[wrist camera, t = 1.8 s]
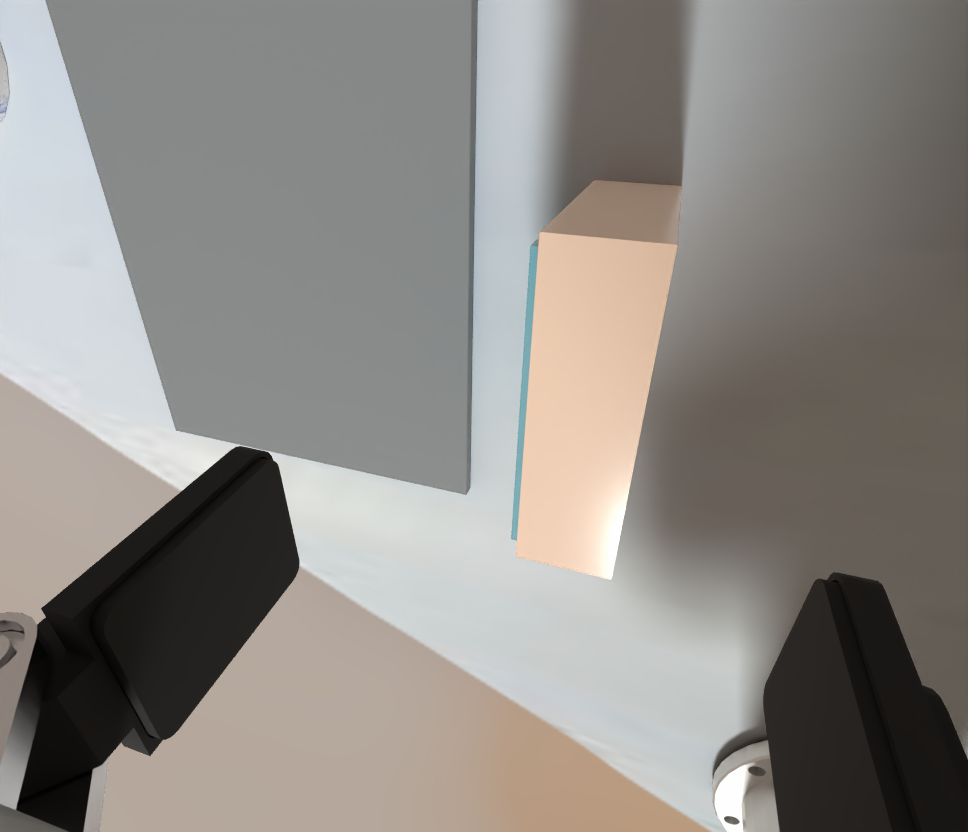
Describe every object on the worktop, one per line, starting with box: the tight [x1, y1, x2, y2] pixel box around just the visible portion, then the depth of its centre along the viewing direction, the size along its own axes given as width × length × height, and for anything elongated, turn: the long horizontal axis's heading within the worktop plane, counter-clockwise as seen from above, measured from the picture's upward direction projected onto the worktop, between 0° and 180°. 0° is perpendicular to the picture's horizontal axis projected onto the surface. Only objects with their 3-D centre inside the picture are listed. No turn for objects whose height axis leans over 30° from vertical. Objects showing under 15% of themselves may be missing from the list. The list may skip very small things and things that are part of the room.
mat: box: [46, 0, 477, 495], centre depth 25 cm, size 22×18×1 cm
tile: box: [511, 180, 682, 580], centre depth 18 cm, size 10×3×9 cm, turn 178°
